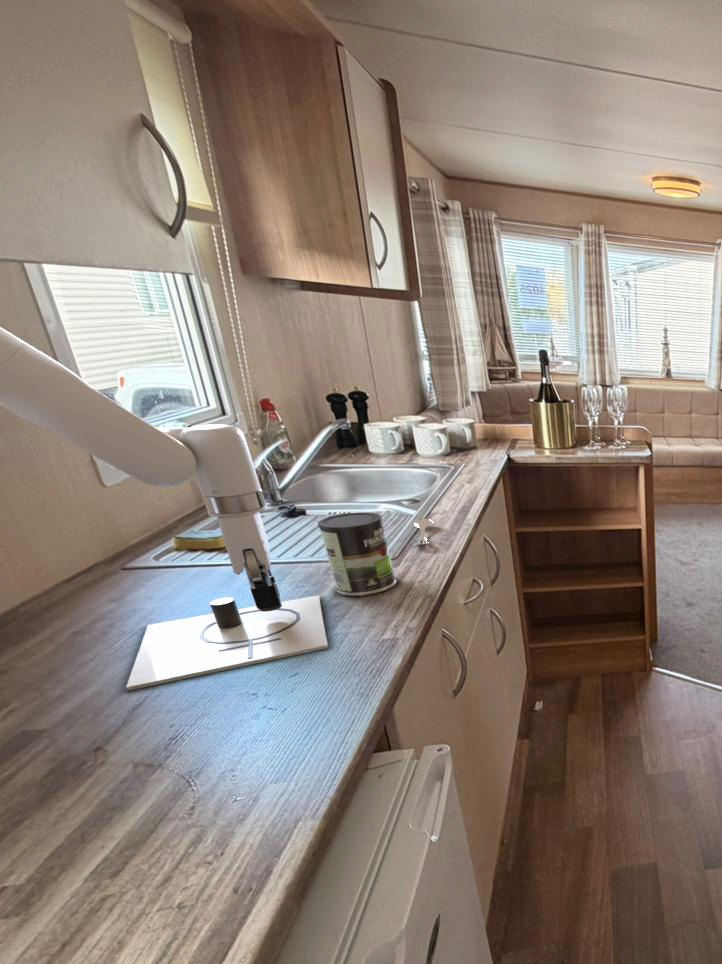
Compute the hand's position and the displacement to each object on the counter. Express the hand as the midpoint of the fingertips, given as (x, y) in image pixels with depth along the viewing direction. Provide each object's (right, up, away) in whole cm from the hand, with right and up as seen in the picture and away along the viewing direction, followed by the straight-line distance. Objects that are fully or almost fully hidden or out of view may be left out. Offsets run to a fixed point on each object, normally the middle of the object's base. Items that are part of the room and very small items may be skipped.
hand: (268, 602), depth 112 cm
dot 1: (-5, -4, -2) cm, 7 cm away
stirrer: (+2, +15, +43) cm, 46 cm away
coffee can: (+6, +3, +16) cm, 18 cm away
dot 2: (0, -1, 0) cm, 1 cm away
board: (-1, -6, -5) cm, 8 cm away
